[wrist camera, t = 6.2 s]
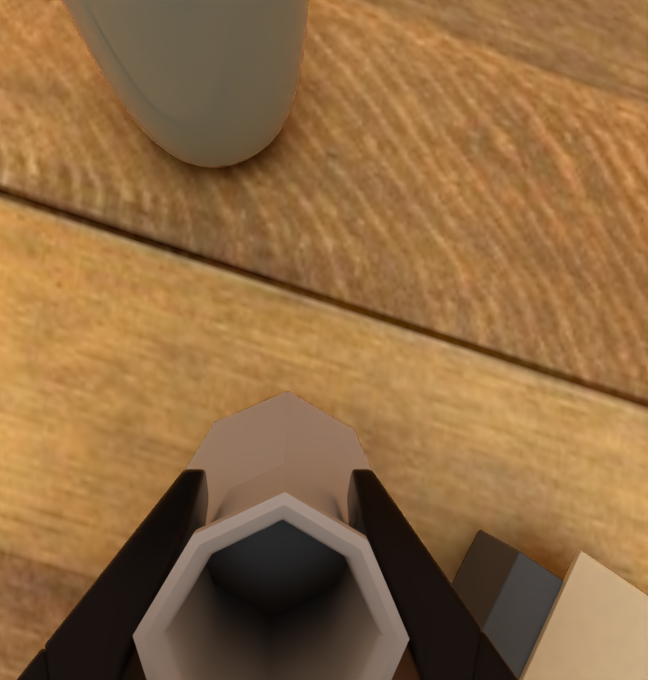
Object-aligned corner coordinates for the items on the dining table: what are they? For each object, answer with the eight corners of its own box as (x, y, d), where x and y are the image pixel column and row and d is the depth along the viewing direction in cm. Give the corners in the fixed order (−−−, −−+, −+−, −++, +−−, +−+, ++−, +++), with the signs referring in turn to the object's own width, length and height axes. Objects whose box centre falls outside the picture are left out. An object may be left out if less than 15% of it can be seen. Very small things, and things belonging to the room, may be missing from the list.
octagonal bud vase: (133, 492, 14) (-186, 634, 5) (290, 358, 16) (301, 249, 6) (268, 660, 14) (232, 1244, 4) (418, 503, 15) (662, 642, 5)
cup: (235, 26, 21) (194, -326, 11) (330, 139, 20) (377, -129, 10) (99, 100, 19) (-92, -234, 9) (196, 225, 18) (100, 6, 9)
